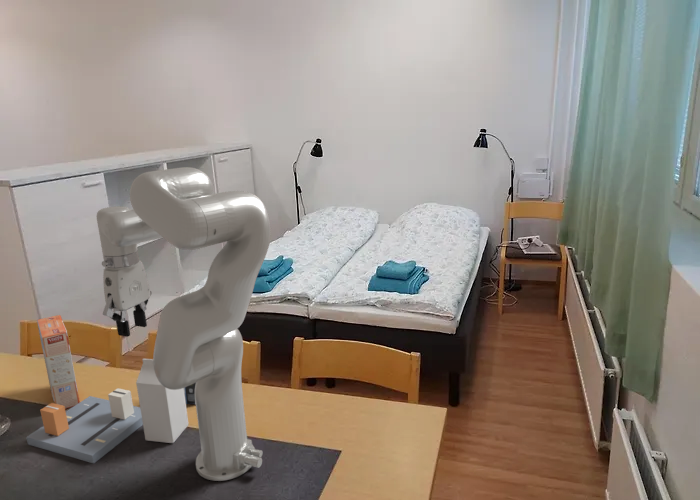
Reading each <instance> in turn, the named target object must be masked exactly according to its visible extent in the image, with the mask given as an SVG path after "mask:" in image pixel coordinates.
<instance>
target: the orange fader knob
mask: <svg viewBox="0 0 700 500" xmlns="http://www.w3.org/2000/svg"><path fill="white" fill-rule="evenodd" d="M39 411H40V415H41V420H42V423H43V426H44V429H45V433H48V434H52V435H56V436H59V435H60V434H62V433H63V432H65V431H66V430H68V429H69V426H68V421H67V416H66V411H67V410H66V409H65V406H63V405H59V404H54V402H51V403H48V405H46V406H44V407H43V408H41V409H40V410H39Z"/></svg>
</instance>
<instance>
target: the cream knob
mask: <svg viewBox="0 0 700 500" xmlns="http://www.w3.org/2000/svg"><path fill="white" fill-rule="evenodd" d="M107 397H108V400H109V402H110V408H111V414H112V417H116V418H120V419H124V420H125V419H127V418H128V417H129V416H131V415H132V414H133V413H134V409H133V406H134V404H133V397H132V392H131V390H128V389H124V388H119V387H118V388H116V389H114V390H113V391H111V392H110V393H108V394H107Z"/></svg>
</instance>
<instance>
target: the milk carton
mask: <svg viewBox="0 0 700 500" xmlns="http://www.w3.org/2000/svg"><path fill="white" fill-rule="evenodd" d="M135 381H136V382H135V384H136V389H137V396H138V401H139V407H140V409H141V415H142V422H143V425H142V426H143V432H144V439H145V441H149V442H160V443H169V444H174V443H175V441H176V440H177V439H178V438H179V437H180V436H181V435H182V433H183V432H184V431H185V430H186V429H187V427H188V426H189V418H188V410H187V404H186V402H185V394H184V388H182V389H178V390H171V389H168V388H166V387H164V386H163V385H162V384H161V383H160V382H159V381H158V379H157V377H156V374H155V371H154V366H153V358H142V365H141V368H140V371H139V373H138V376H137V379H136V380H135Z"/></svg>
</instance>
